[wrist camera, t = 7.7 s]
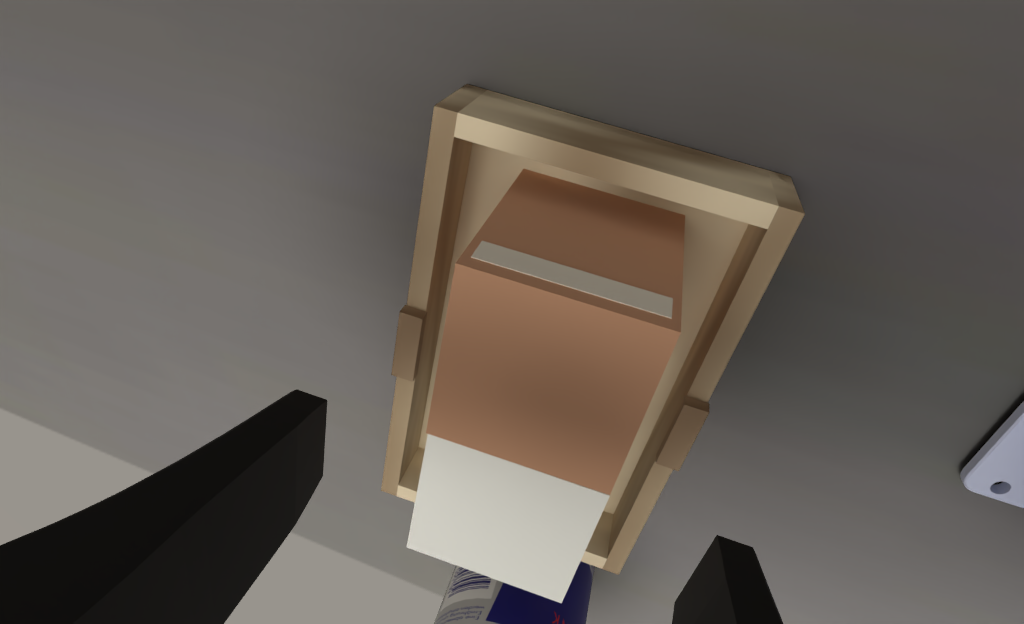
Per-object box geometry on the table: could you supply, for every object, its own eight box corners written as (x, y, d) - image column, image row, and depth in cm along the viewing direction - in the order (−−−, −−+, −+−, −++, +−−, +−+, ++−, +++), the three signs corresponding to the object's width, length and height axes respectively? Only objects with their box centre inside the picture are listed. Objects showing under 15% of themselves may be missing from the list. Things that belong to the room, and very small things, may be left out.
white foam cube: (625, 393, 21) (609, 495, 17) (582, 496, 23) (561, 603, 20) (475, 344, 21) (428, 433, 17) (451, 450, 24) (406, 547, 20)
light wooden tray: (792, 177, 16) (809, 221, 14) (626, 518, 24) (619, 585, 22) (465, 83, 17) (426, 109, 15) (406, 442, 25) (375, 498, 23)
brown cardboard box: (631, 352, 20) (609, 495, 15) (492, 309, 20) (425, 433, 15) (685, 214, 17) (681, 332, 12) (523, 167, 17) (455, 262, 12)
